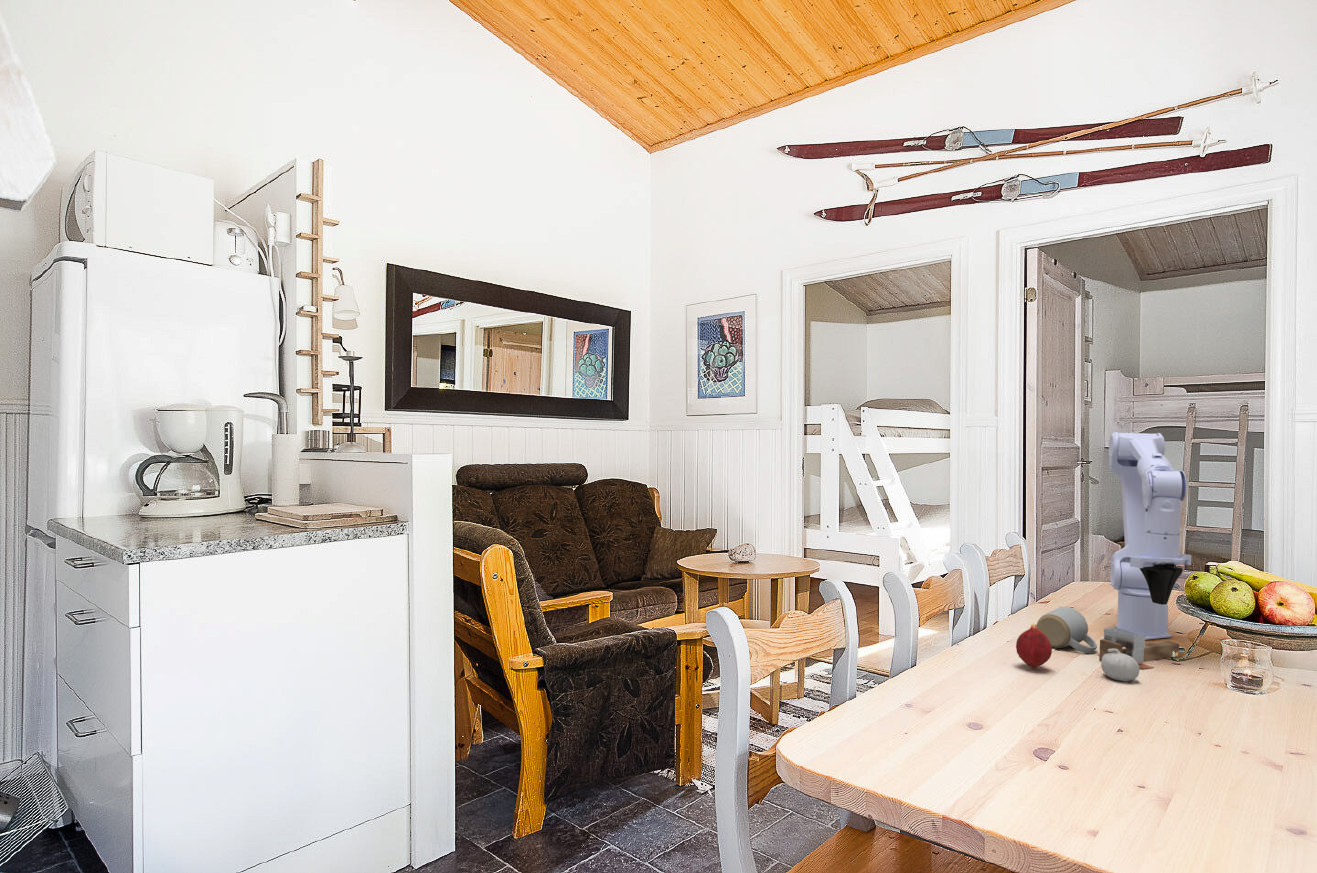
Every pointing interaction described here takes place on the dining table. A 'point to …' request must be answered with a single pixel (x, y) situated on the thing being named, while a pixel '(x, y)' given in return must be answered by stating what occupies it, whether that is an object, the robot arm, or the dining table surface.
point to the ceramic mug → (1066, 629)
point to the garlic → (1119, 666)
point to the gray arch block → (1127, 642)
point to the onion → (1033, 647)
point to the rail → (1150, 651)
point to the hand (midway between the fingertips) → (1159, 603)
